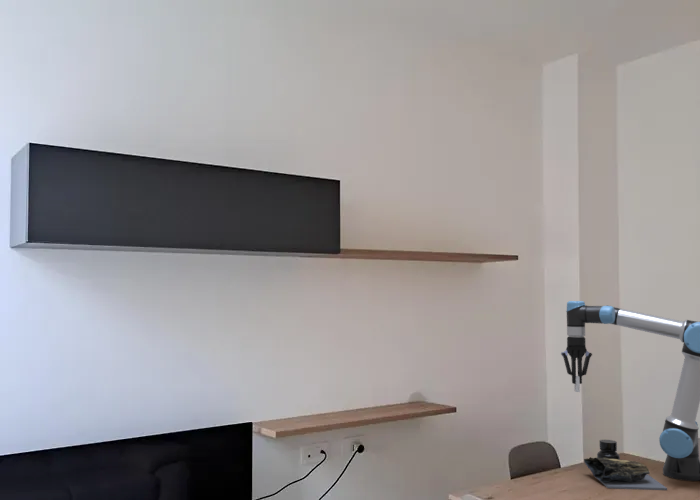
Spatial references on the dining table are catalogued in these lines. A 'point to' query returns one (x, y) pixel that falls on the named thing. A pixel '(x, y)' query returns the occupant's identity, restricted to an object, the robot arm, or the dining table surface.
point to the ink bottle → (608, 449)
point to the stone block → (616, 469)
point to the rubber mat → (635, 484)
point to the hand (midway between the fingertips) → (577, 391)
